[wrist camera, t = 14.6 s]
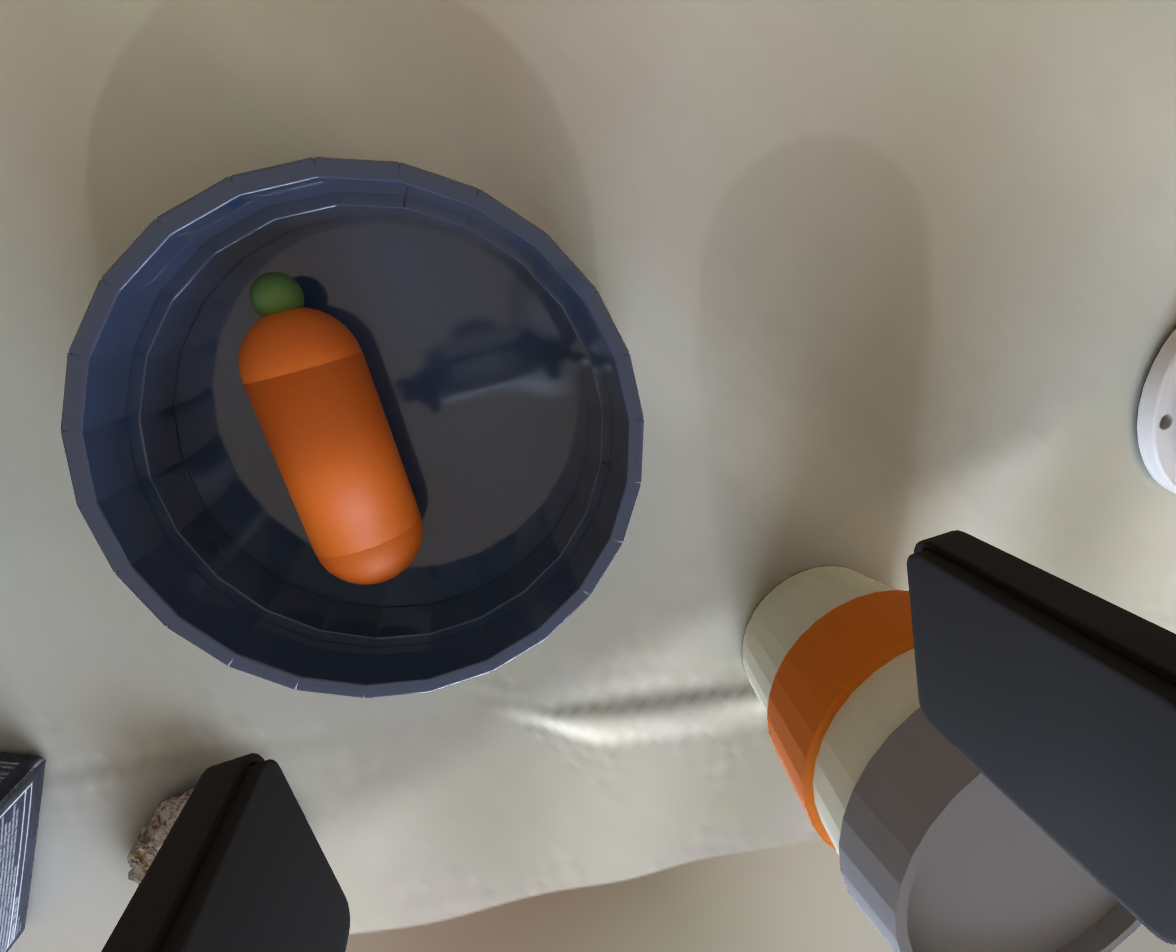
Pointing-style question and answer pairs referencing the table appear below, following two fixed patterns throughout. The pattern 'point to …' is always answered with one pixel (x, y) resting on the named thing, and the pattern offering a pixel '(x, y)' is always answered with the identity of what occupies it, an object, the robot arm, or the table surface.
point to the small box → (17, 839)
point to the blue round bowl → (411, 405)
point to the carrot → (328, 435)
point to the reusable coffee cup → (907, 784)
